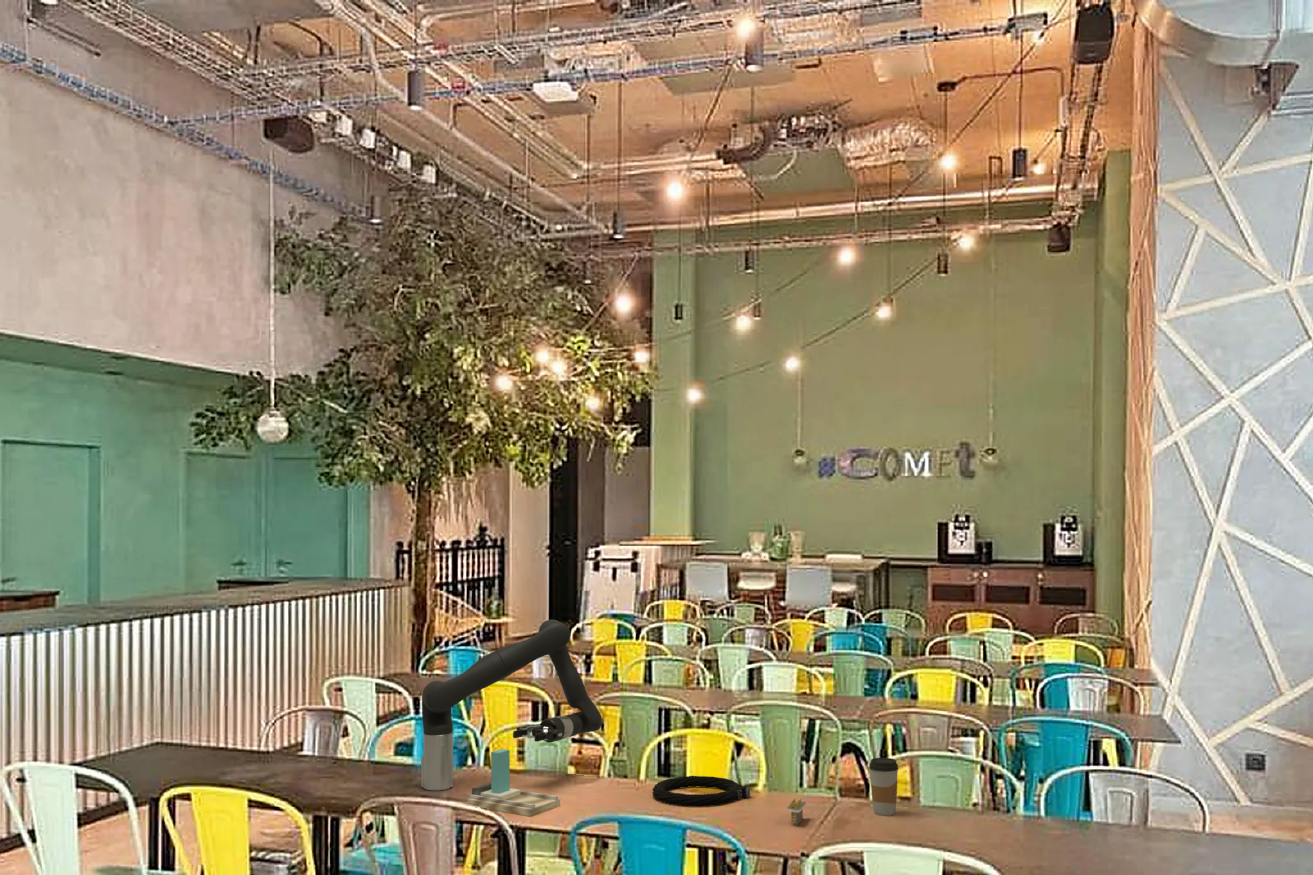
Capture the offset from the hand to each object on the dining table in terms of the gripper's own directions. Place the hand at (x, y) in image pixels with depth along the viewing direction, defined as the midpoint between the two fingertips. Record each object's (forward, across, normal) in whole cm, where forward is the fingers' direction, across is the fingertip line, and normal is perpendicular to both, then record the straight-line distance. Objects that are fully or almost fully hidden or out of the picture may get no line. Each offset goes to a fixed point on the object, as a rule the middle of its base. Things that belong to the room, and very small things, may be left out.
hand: (524, 736), depth 382 cm
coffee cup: (-35, +104, +15) cm, 111 cm away
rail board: (+12, +5, +18) cm, 22 cm away
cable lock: (-26, +48, +17) cm, 57 cm away
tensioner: (+12, +1, +16) cm, 20 cm away
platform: (-14, +87, +16) cm, 89 cm away
